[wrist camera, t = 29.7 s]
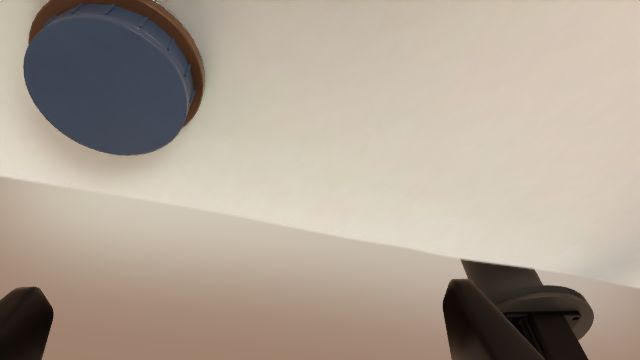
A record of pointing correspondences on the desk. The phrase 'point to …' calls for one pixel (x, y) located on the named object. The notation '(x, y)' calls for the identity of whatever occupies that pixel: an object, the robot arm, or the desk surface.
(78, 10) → the jar lid
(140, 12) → the coaster
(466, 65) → the desk surface
